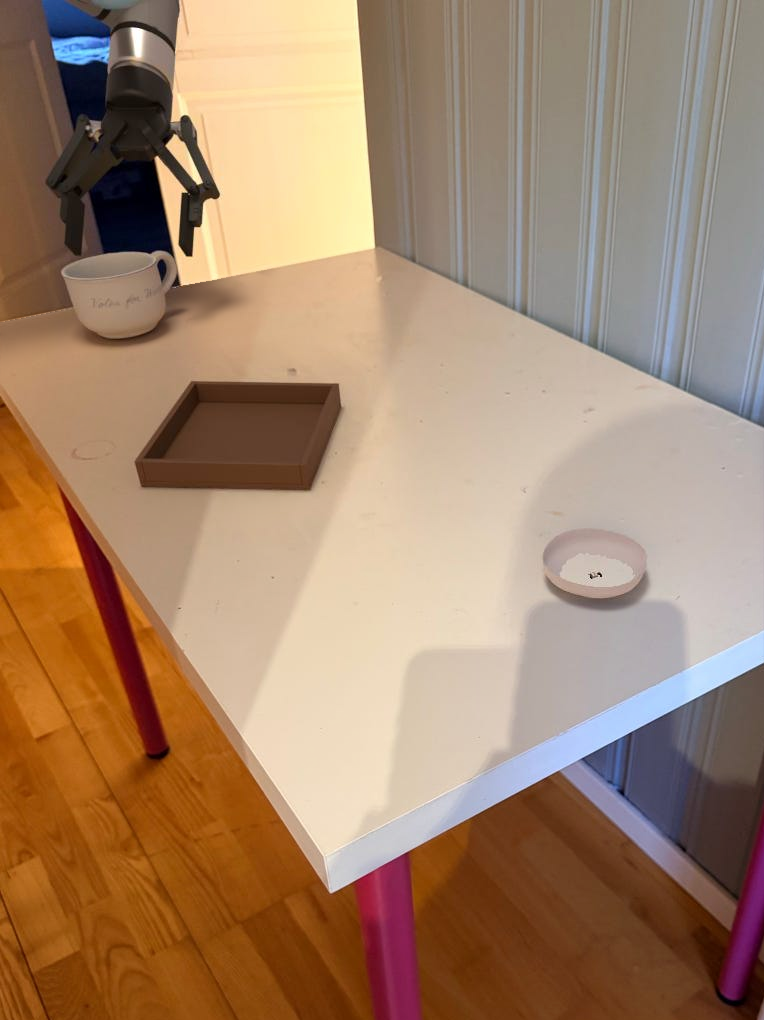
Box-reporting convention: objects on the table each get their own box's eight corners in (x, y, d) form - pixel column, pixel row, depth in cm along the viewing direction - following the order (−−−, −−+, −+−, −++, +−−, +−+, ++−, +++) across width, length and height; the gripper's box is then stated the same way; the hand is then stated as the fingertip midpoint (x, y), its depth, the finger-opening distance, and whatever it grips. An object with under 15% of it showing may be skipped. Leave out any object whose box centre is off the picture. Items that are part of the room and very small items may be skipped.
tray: (140, 486, 82) (134, 461, 80) (195, 403, 95) (191, 380, 93) (309, 489, 81) (306, 464, 79) (341, 406, 94) (338, 383, 93)
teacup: (101, 354, 105) (82, 283, 100) (64, 328, 112) (44, 260, 107) (210, 325, 112) (197, 257, 107) (170, 302, 119) (156, 237, 114)
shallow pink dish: (664, 594, 69) (667, 574, 67) (567, 617, 66) (569, 596, 65) (615, 540, 74) (617, 520, 73) (525, 560, 72) (525, 539, 71)
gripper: (251, 105, 114) (241, 267, 112) (55, 105, 115) (42, 265, 113) (232, 61, 107) (222, 234, 105) (23, 61, 108) (9, 232, 105)
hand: (129, 250), depth 109 cm, fingers open, 13 cm apart
